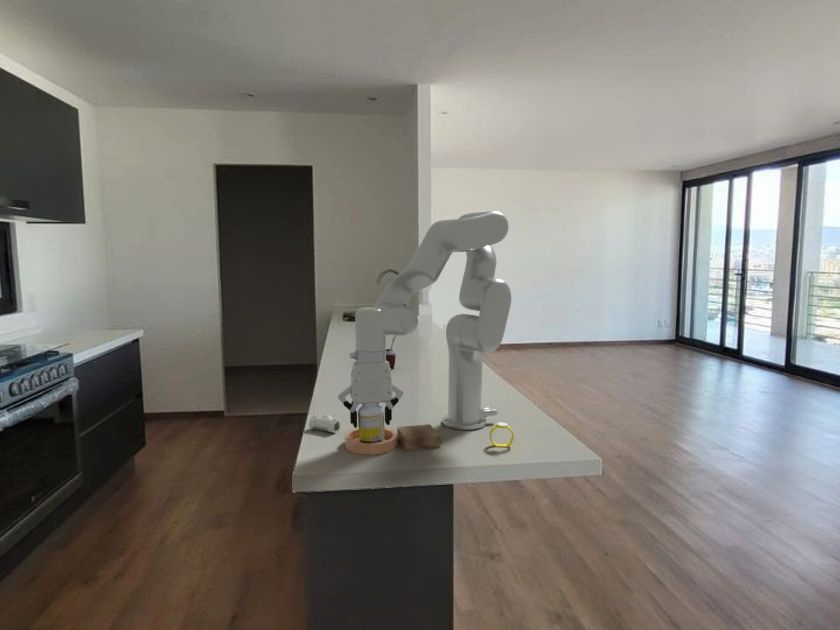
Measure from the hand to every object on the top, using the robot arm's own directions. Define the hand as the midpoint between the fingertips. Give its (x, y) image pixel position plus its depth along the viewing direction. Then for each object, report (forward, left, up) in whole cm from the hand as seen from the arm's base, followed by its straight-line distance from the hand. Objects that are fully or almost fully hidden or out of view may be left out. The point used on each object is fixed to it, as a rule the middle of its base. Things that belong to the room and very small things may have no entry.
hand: (371, 424), depth 129 cm
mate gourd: (-22, -85, -6) cm, 88 cm away
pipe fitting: (+10, -15, -6) cm, 18 cm away
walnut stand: (-12, +2, -5) cm, 13 cm away
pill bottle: (0, 0, -5) cm, 5 cm away
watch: (-32, +9, -6) cm, 34 cm away
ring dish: (0, 0, -5) cm, 5 cm away
